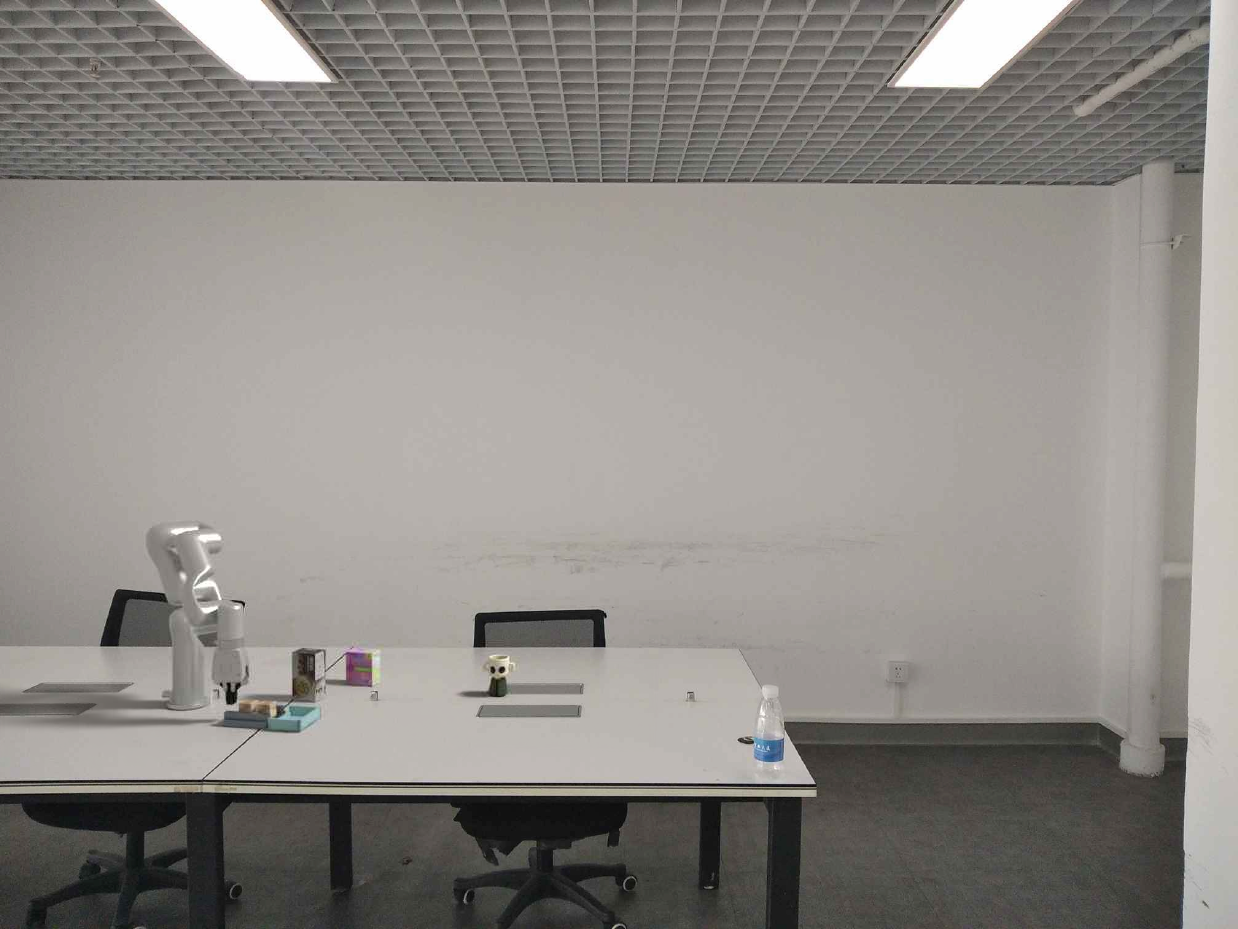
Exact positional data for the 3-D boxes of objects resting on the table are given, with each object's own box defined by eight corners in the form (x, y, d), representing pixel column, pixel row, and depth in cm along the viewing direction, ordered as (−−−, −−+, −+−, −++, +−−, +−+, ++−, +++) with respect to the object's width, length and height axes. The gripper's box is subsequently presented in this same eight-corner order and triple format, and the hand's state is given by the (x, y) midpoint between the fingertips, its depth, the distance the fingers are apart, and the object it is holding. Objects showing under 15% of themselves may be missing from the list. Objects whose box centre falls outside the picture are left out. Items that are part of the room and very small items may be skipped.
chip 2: (257, 717, 285) (257, 704, 285) (263, 713, 289) (264, 700, 289) (269, 718, 284) (269, 705, 284) (276, 714, 288) (276, 701, 288)
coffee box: (326, 697, 314) (326, 649, 314) (315, 702, 308) (315, 653, 307) (302, 694, 317) (302, 647, 316) (290, 700, 310) (291, 651, 310)
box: (345, 684, 330) (345, 651, 330) (353, 680, 336) (353, 647, 335) (372, 687, 328) (372, 653, 327) (380, 682, 333) (380, 649, 333)
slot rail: (222, 726, 282) (222, 713, 282) (243, 714, 294) (243, 701, 294) (266, 729, 280) (266, 715, 280) (285, 717, 292) (285, 704, 292)
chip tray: (267, 730, 279) (267, 718, 279) (290, 716, 293) (290, 705, 293) (299, 732, 278) (299, 720, 278) (320, 718, 292) (320, 707, 292)
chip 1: (238, 716, 286) (238, 703, 285) (245, 712, 290) (245, 699, 289) (251, 717, 285) (251, 704, 285) (257, 713, 289) (257, 700, 289)
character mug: (480, 697, 318) (481, 659, 318) (484, 691, 325) (485, 654, 325) (512, 698, 318) (513, 660, 317) (515, 692, 325) (516, 655, 324)
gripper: (200, 646, 284) (201, 706, 285) (247, 647, 282) (248, 708, 283) (214, 641, 292) (215, 700, 292) (260, 641, 290) (260, 701, 290)
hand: (231, 703), depth 287 cm, fingers closed
